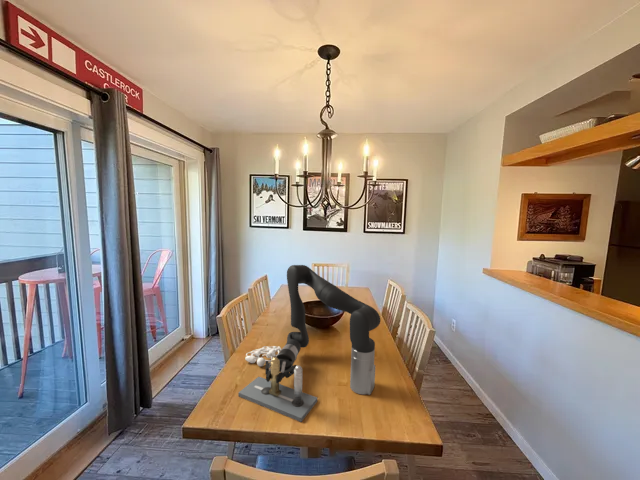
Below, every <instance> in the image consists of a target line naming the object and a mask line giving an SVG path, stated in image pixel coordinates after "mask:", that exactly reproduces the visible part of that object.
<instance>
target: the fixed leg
mask: <svg viewBox="0 0 640 480" xmlns="http://www.w3.org/2000/svg"><path fill="white" fill-rule="evenodd" d="M293 389H294V404H295V405H301V404H302V392H303V368H302V366H301V365H297V366H296V367H295V369H294V374H293Z"/></svg>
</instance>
